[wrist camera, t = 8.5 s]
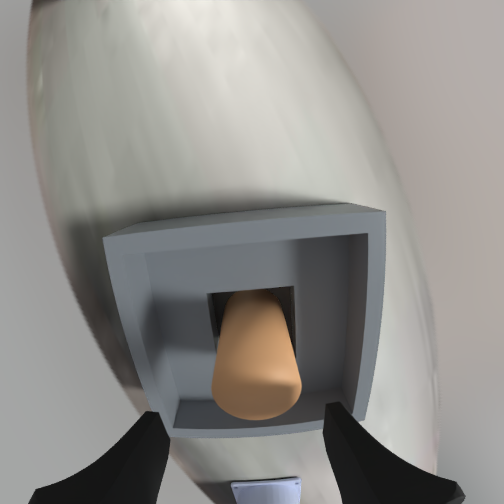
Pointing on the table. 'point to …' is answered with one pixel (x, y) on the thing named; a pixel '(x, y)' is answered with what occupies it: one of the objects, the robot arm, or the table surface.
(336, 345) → the box
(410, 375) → the table surface
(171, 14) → the table surface
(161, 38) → the table surface
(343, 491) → the robot arm
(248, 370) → the peg
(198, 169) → the table surface
